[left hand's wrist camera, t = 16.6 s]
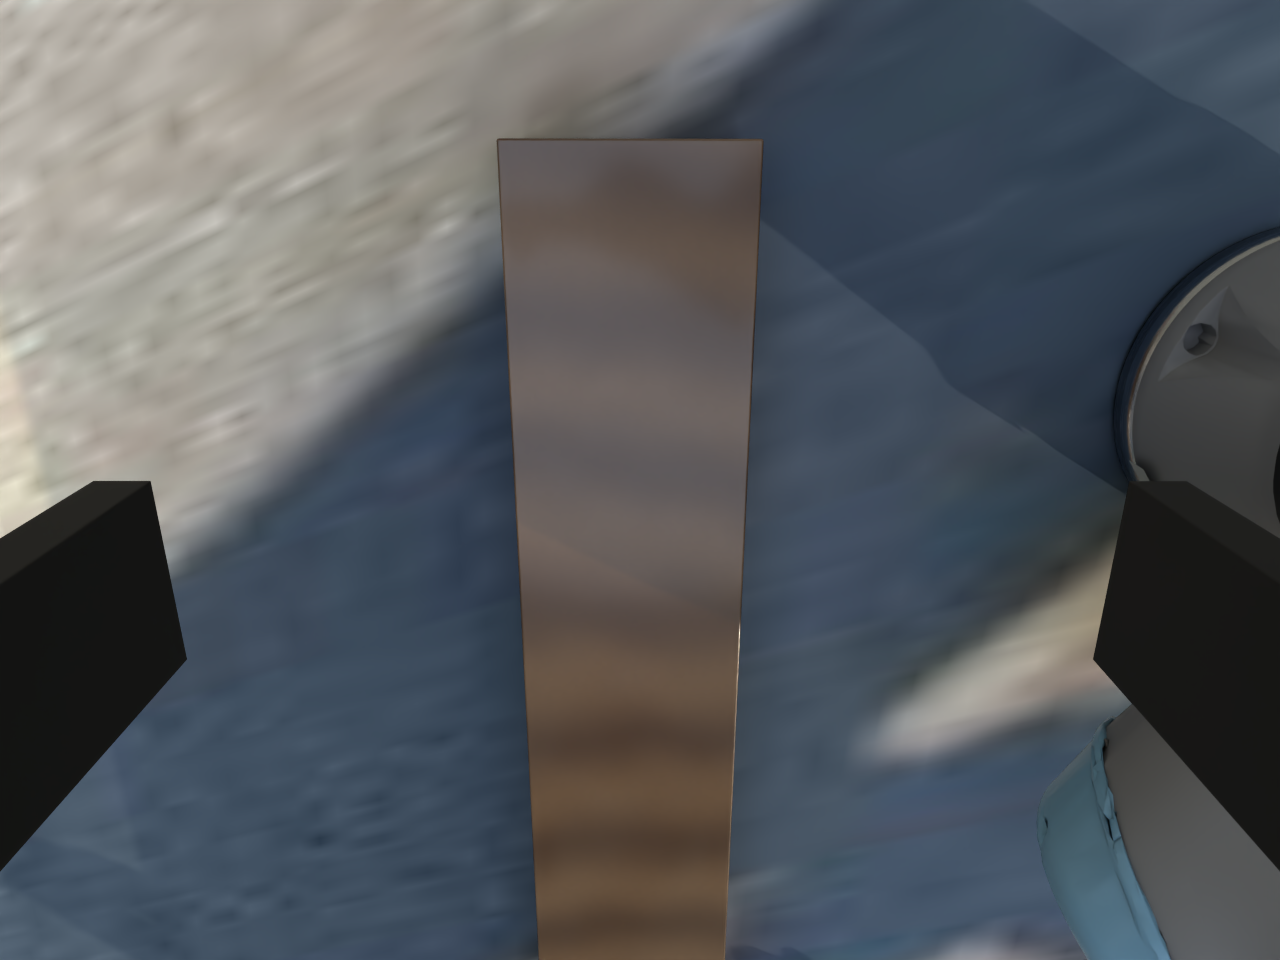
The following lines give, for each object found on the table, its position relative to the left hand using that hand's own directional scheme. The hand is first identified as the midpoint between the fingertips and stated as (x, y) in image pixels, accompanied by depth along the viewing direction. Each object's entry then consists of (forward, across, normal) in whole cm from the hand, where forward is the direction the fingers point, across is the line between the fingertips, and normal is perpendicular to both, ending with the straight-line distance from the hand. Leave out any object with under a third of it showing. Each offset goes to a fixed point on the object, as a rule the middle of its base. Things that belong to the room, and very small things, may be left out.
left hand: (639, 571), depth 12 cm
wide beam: (+29, 0, -24) cm, 38 cm away
